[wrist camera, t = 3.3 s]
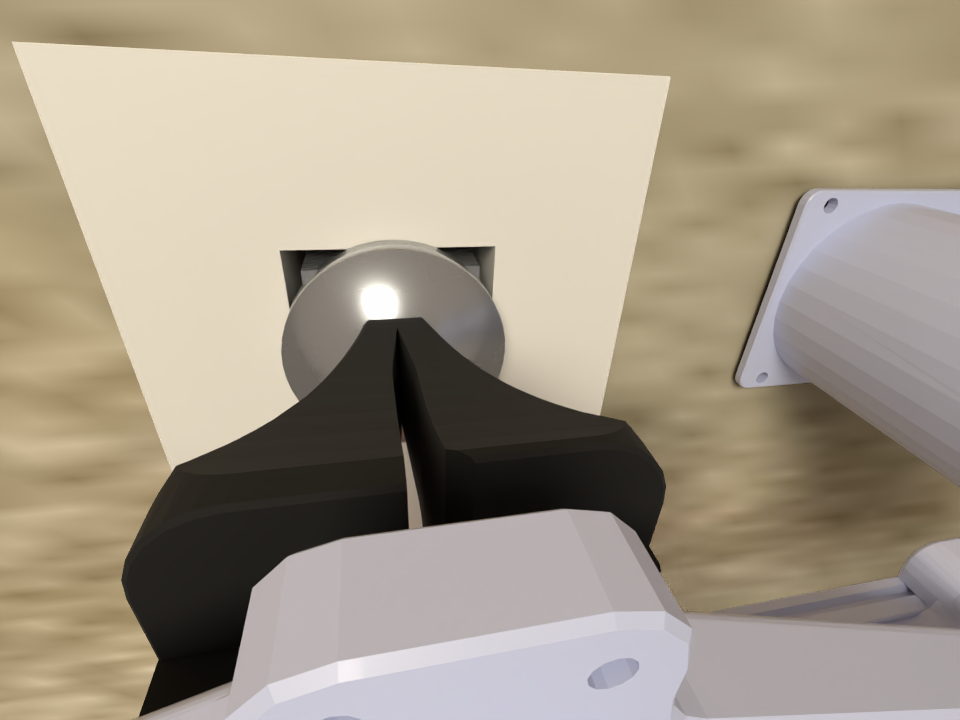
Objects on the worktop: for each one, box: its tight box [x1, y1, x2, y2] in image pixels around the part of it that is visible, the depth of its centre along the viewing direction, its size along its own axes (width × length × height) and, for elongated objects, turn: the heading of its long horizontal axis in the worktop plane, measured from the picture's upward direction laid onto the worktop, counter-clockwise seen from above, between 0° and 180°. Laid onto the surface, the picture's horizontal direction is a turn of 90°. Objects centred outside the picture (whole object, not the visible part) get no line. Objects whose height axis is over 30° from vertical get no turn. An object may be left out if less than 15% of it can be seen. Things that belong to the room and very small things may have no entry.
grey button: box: [281, 240, 505, 443], centre depth 13 cm, size 5×5×5 cm
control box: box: [12, 42, 671, 529], centre depth 17 cm, size 12×24×4 cm, turn 178°
